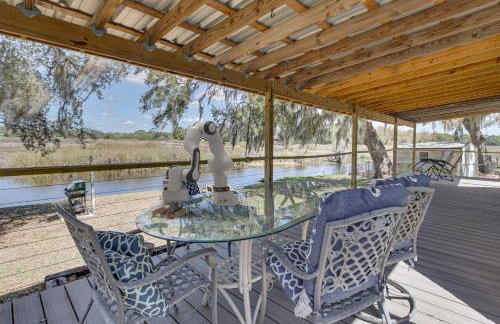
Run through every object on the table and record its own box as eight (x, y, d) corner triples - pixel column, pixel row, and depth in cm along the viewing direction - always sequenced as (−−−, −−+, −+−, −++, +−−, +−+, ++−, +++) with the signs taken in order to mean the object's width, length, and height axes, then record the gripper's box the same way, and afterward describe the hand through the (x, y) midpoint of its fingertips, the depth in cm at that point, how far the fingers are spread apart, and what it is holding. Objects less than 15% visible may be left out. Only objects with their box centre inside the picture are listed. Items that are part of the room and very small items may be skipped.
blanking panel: (182, 209, 207) (182, 200, 206) (173, 213, 195) (173, 204, 195) (179, 209, 208) (178, 199, 207) (170, 213, 196) (169, 203, 196)
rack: (186, 212, 208) (186, 207, 208) (174, 219, 192) (174, 213, 192) (164, 210, 214) (164, 205, 214) (150, 217, 198) (150, 211, 197)
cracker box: (182, 202, 239) (181, 178, 237) (180, 204, 233) (178, 179, 231) (166, 202, 240) (165, 178, 238) (163, 204, 235) (162, 179, 232)
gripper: (190, 187, 200) (191, 206, 201) (165, 186, 206) (166, 204, 207) (186, 188, 194) (186, 208, 195) (160, 187, 200) (161, 206, 201)
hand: (176, 206), depth 201 cm, fingers closed on blanking panel, 3 cm apart
